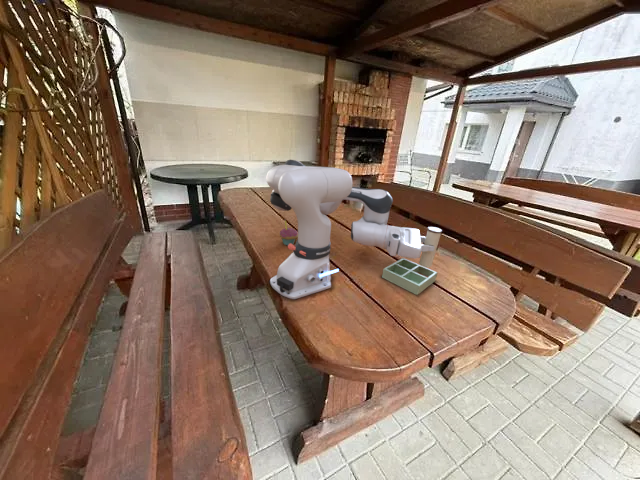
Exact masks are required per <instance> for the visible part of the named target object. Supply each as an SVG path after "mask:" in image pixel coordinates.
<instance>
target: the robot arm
mask: <svg viewBox="0 0 640 480" xmlns="http://www.w3.org/2000/svg"><path fill="white" fill-rule="evenodd" d="M265 178H266V183H267V185H268V187H269V188H270V189H272V191H271V193H270V197H269V201H270V204H271V205H272V206H273V207H274V208H275V209H276V210H279V211H281V212H285V211H287V212H289V211H291V210H293V212H294V214H295V216H296V220H297V221H296V222H297V233H298V237H297V240H296V241H295V244H291V243H290V244H289V245H287V249H288V250H290V251H292V252H291V253H290V254H289V255H288V256H287V258H286V259H284V261H283V262H281V264H279V266H278V268H277V271H276V272H277V273H276V275H274V276H273V277H271V278H270V280H269V284H270V286H271V287H272V289H273V290H274V291H276V292H277V293H278V294H280V295H281V296H283V297H285V298H288V299H291V300H297V299H300V298H303V297H306V296H309V295H312V294H315V293H320V292H322V291H325V290H328V289H331V287H332V282H331V280H332V276H331V275H332V274H335V273H338V272H339V270H340V269H339V268H336V269H333V270H331V268H330V265H331V263H330V253H331V249H332V248H331V246H332V243H331V232H332V231H331V230H332V221H331V220H330V218H329V217H328V216H327V215H332V214H333V213H335V212H336V211H337V209H338V208H339V207H340V205H341V203H342V202H343V201H344V200H345V201H346V200H347V201H351V202H355V203H356V202H357V203H361V204H362V205H363V206H364V207H363V214H362V216H361V218H360V219H358V220H354V221H352V222H351V225H350V239H351V241H352V242H354V243H356V244H359V245H362V246H367V247H378V248H380V249H383V250H386V251H387V253H388V254H389V255H390V256H391V257H397V256H399V257H402V258H405V259H407V258H408V259H415V260H416V259H420V258H421V254H422V251H434V246H433V245H424V243H425V239H426V236H424V235H421V232H420V229H418V228H414V227H413V228H412V227H404V226H403V227H401V226H396V225H395V226H394V225H389V224H388V220H389V216H390V212H391V208H392V206H393V202H394V200H393V197H392V195H391V193H389V192H388V191H387V190H386V189H384V188H383V189H382V188H365V187H358V186H353V185H354V184H353V177H352V175H351V174H350V172H349V171H348V170H346V169H343V168H338V167H332V166H331V167H330V166H312V165H311V166H309V165H307V166H306V165H305V164H303V162H301V161H299V160H297V159H288V160H286V161H285V162H284V164H279V165H275V166H273V167H271V168H270V169H268V171H267V173H266V177H265ZM387 226H388V227H387ZM386 231H387V232H386ZM385 236H386V237H385Z"/></svg>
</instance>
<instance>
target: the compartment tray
mask: <svg viewBox="0 0 640 480" xmlns="http://www.w3.org/2000/svg"><path fill="white" fill-rule="evenodd" d="M437 276H438V272H437V271H435V270H433V269H430V268H429V267H424V266H421V265H420V264H418V263H416V262H414V261H412V260H409V259H407V258H405V257H402V258H400V259H398V260H396V261H395V262H393V263H391V264H389V265H388V266H386V267H384V268H383V269H382V275H381V278H382V279H384V280H386V281H388V282H390V283H392V284H394V285H396V286H398V287H399V288H400V287H401V288H402V289H404V290H406V291H408V292H410V293H411V294H414V295H415V296H418V295H420V294H421V293H422V292H424V290H426V289H427V288H428V287H429V286H431V285H432V284H433V283H434V282H436V278H437Z"/></svg>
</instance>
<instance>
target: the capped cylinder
mask: <svg viewBox="0 0 640 480" xmlns="http://www.w3.org/2000/svg"><path fill="white" fill-rule="evenodd" d="M442 232H443V229H441V228H439V227H436V226H428V227H427V231H426V235H425V237H426V239H425V243H423V244H424V245H433V246H434V251H421V255H420V258H419V261H418V262H419V265H421V266H423V267H426V268H431V267H432V266H433V263H434V260H435V256H436V252H437V249H438V245H439V242H440V238H441V235H442Z"/></svg>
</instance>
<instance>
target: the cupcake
mask: <svg viewBox="0 0 640 480" xmlns="http://www.w3.org/2000/svg"><path fill="white" fill-rule="evenodd" d="M284 227H285V228H283V229H281V230H280V231H279V233H278V234H279V238H281V241H282V244H283V245H285V246H288V245H289V244H290V243H291V244H293V245H295V244H294V243H295V242H296V239H298V230H296V229H294V228H292V227H288V225H287V221H286V220H284Z"/></svg>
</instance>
